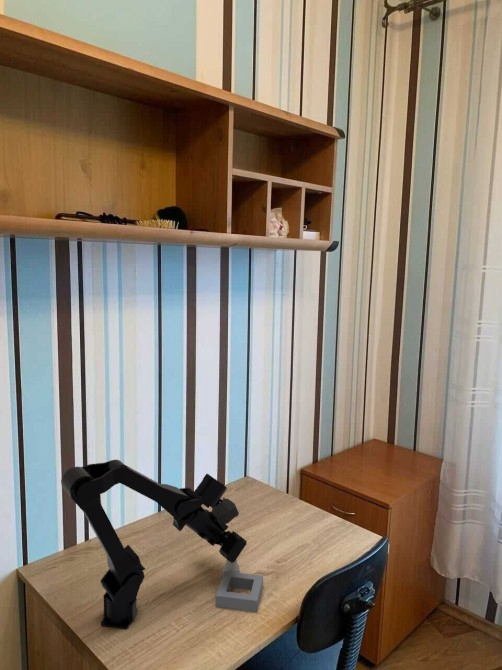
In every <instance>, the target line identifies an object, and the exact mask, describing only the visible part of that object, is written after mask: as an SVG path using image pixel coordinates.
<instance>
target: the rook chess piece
mask: <svg viewBox="0 0 502 670" xmlns="http://www.w3.org/2000/svg"><path fill="white" fill-rule="evenodd" d="M237 559H238V558H237ZM237 559H236V560H235V562H233V563H231V562H230V561H228V560H227V559H226V562H225V564H224V566H223V570H222V572H223V573H222V574H224V572H225V571H228V572H236V573H241V571H240V570H241V569H240V565H239V563H238V560H237Z"/></svg>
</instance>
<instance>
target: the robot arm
mask: <svg viewBox="0 0 502 670" xmlns="http://www.w3.org/2000/svg"><path fill="white" fill-rule="evenodd" d="M60 483H61V486H62V488H63V489H64V491H65V492H66V493H67V494H68V495H69V497H70V498H71V499H72V501H73V502H74V504H76V506H77V507H78V508H79V509H80V510H82V513H83V514H84V516H85V518H86V519H87V522H88V523H89V526H91V529H92V531H93V533H94V534H95V536H96V538H97V539H98V542H99V544H100V545H101V547H102V549H103V551H104V552H105V554H106V557H107V559H106V560H107V561H106V562H107V566H108V570H107V572H106V573H105V574H104V575H103V576H102V578H101V579H100V581H99V582H100V584H101V586H102V588H103V589H104V590H105V593H104V595H103V618H102V620H101V621H100V626H102V625H104V626H105V627H108V628H109V627H110V628H117V629H118V628H119V629H125V630H127V629H128V628H129V627H130V625H131V623H132V622H133V621H134V619H135V618H136V616H137V613H138V608H137V607H138V606H137V603H138V602H137V601H138V600H137V596H138V594H139V590H140V588H141V585H142V584H143V581H144V579H145V572H144V571H145V570H146V568H145V566H144V565H143V564H142V563H141V559H140V557H139V555H138V554H137V553H136V552H135V550H134V549H133V548H132V547H131V546H130V544H127V545H126V546H125V547H124V545H123V543H122V540H121V539H120V538H119V536H118V534H117V531H116V529H115V528H114V526H113V524H112V523H111V521H110V519H109V517H108V515H107V513H106V511H105V509H104V508H103V505H102V498H101V495H102V494H105V493H106V492H108V491H109V490H111V488H113V487H114V486H116V485H118V484H122V485H123V486H125V487H126V488H129V489H131V490H133V491H135V492H137V493H139V494H140V495H142V496H144V497H146V498H148V499H150V500H152V501H154V502H156V503H157V504H158V505H159V506H160V507H161V508H163V510H165V511H166V512H167V513H169V515H170V516H172V517H173V518H172V519H173V520H172V526H173V527H175V529H176V530H178V531H179V532H182V530H183V529H184V528H185V526H186V527H188V529H190V530H191V531H192V532H194V533H195V534H196V535H197V536H199V537H200V538H201V539H203V540H205V541H206V542H207V543H209V545H211V546H212V547H214V546H215V545H218V546H220V548H219V550H218V552H219V554H220V555H221V556H222V557H223V558H224V559H226V561H227V560H228V561H230V562H231V563H233V562H235V560H236V559H238V557H240V554H241V553H242V551H244V549H245V547H246V546H247V545H248V544H247V543H248V541H247V540H246V539H245V538H244V537H243V536H241V535H239V534H238V533H237V532H236V531H234V530H232V532H231V531H230V530H228V528H229V526H228V525H227V524H229V523H231V521H232V520H234V519H235V518H237V517H238V516H239V514H240V513H239V509H238V508H237V505H236V503H235V502H233V501H232V500H230V499H229V498H225V497H222V496H224V494H225V492H226V491H227V490H228V487H227V486H226V485H224V484H223V483H222V482H220V481H219V480H218V479H216V478H214V477H213V476H212V475H210V474H209V473H206V474H205V475H204V477H203V478H202V480H201V482H200V483H199V484H198V486H197V487H196V489H195V490H193V489H192V488H191V487H181V488H178V487H177V486H173V485H170V484H168V483H167V484H166V483H159V482H157V481H155V480H154V479H152V478H150V477H148V476H146V475H145V474H142V473H141V472H139V471H137V470H135V469H133V468H132V467H130V466H128V465H126V464H125V463H124V462H122V461H121V460H119V459H111V460H108V461H105V462H99V463H98V462H97V463H89V464H87V465H83V466H73V467H70V468H68V470H66V471H65V473H64V474H63V476H62V477H61V480H60ZM203 506H204V507H206V508H208V509H209V508H212V509H211V511H209V510H208V509H206V508H204V507H203ZM104 626H103V627H104Z"/></svg>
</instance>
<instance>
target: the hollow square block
mask: <svg viewBox="0 0 502 670" xmlns="http://www.w3.org/2000/svg"><path fill="white" fill-rule="evenodd" d="M263 587H264V576H263V575H260V574H252V573H243V572H240V573H236V572H228V571H225V572H224V573H223V575H222V579H221V581H220V584H219V587H218V589H217V592H216V595H215V608H221V609H228V610H233V611H234V610H235V611H242V612H249V613H258V610H259V605H260V601H261V597H262V592H263ZM231 589H241V590H246V591H250V594H249V593H241V592H240V593H239V592H234V591H233V592H232V591H231Z"/></svg>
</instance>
